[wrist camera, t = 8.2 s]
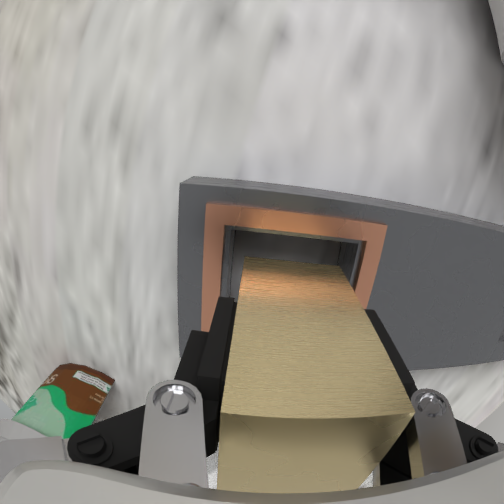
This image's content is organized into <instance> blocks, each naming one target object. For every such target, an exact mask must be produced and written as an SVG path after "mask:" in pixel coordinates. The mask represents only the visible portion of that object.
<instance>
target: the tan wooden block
mask: <svg viewBox="0 0 504 504" xmlns="http://www.w3.org/2000/svg"><path fill="white" fill-rule="evenodd" d="M414 414H415V410H414V408H413V406H412V403H411V401H410V399H409V397H408V395H407V393H406V391H405V388H404V386H403V384H402V382H401V380H400V378H399V376H398V374H397V372H396V370H395V368H394V366H393V364H392V362H391V360H390V358H389V356H388V354H387V352H386V350H385V348H384V346H383V344H382V342H381V340H380V338H379V336H378V335H377V333H376V331H375V329H374V327H373V325H372V323H371V321H370V320H369V318H368V316H367V314H366V312H365V310H364V308H363V307H362V305H361V303H360V301H359V299H358V298H357V296H356V294H355V292H354V290H353V289H352V287H351V285H350V283H349V282H348V280H347V278H346V276H345V275H344V273H343V271H342V269H341V268H340V266H333V265H323V264H313V263H304V262H294V261H285V260H275V259H266V258H257V257H247V256H245V259H244V265H243V271H242V278H241V284H240V290H239V296H238V303H237V309H236V315H235V322H234V328H233V335H232V341H231V347H230V354H229V360H228V367H227V373H226V380H225V386H224V393H223V399H222V406H221V413H220V432H219V453H218V476H217V490H227V491H237V492H252V493H319V492H333V491H344V490H353V489H358V487H359V486H360V485H361V484H362V483H363V482H364V481H365V479H366V478H367V477H368V476H369V475H370V474H371V472H372V471H373V470H374V469H375V468H376V466H377V465H378V464H379V463H380V461H381V460H382V459H383V457H384V456H385V455H386V454H387V452H388V451H389V450H390V448H391V447H392V446H393V444H394V443H395V442H396V440H397V439H398V437H399V436H400V435H401V433H402V432H403V430H404V429H405V427H406V426H407V424H408V423H409V421H410V420H411V418H412V417H413V415H414Z"/></svg>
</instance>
